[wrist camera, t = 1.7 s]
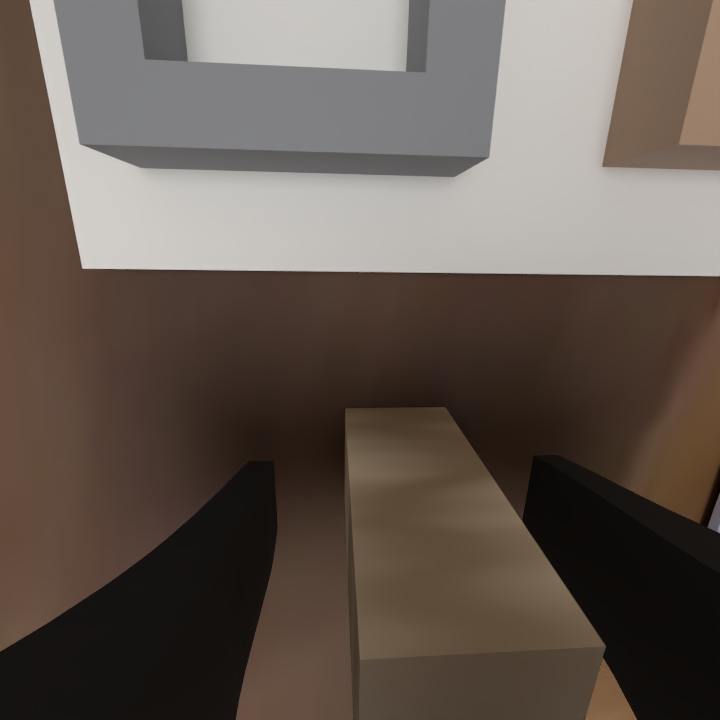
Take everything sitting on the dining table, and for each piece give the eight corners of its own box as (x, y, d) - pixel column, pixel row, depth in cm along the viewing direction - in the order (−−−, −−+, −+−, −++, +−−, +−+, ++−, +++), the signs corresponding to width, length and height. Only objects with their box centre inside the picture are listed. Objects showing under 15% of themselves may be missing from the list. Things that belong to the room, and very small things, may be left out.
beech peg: (445, 406, 11) (605, 645, 5) (437, 491, 12) (562, 796, 5) (345, 408, 11) (360, 659, 4) (344, 494, 12) (357, 813, 5)
